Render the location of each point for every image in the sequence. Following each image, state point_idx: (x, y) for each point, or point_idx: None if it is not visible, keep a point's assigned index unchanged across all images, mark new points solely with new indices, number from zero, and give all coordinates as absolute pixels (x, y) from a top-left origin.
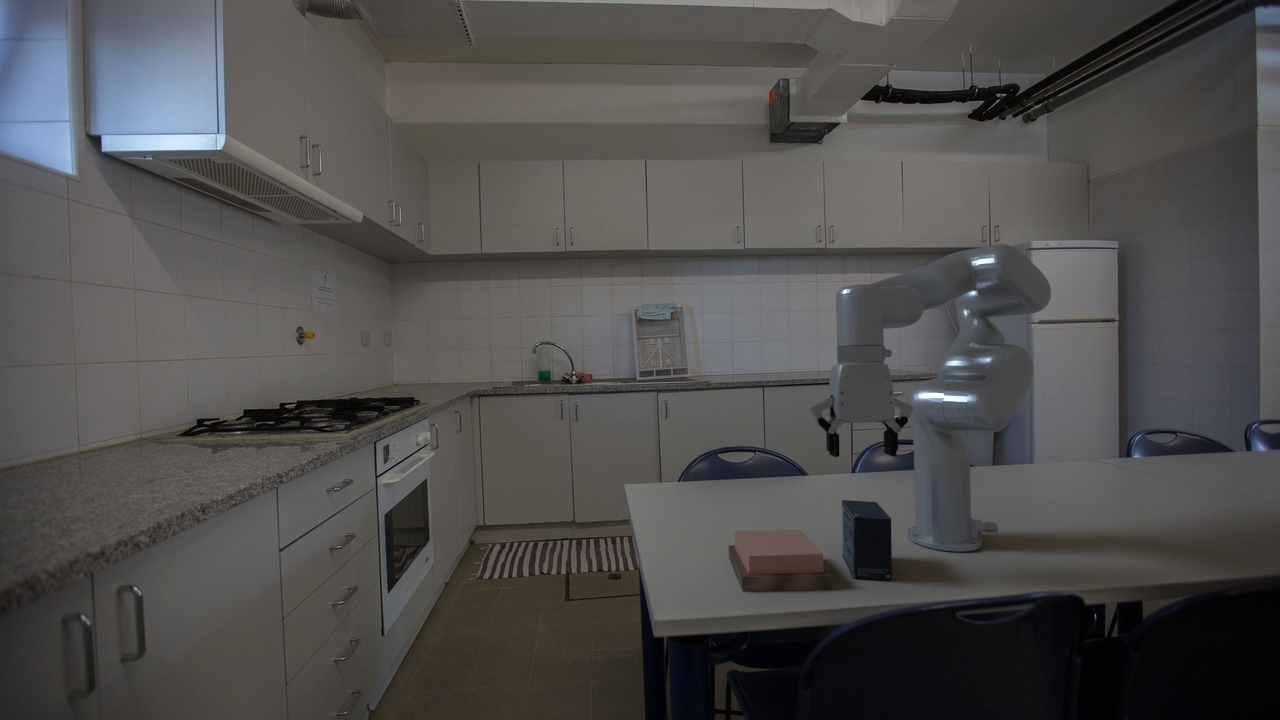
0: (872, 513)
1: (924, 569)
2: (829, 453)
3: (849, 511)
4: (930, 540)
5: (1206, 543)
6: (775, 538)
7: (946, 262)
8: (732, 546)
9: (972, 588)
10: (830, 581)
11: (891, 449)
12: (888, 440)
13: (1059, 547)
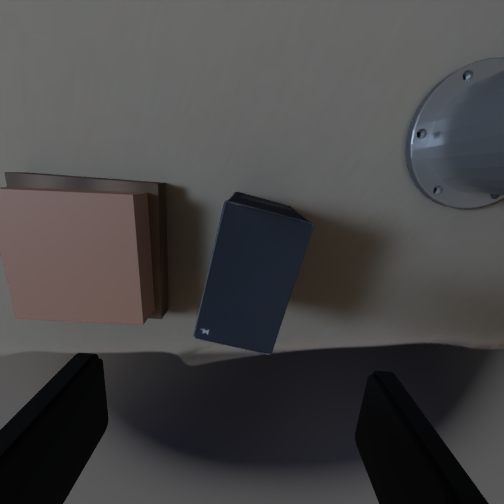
0: (245, 326)
1: (337, 263)
2: (80, 355)
3: (201, 302)
4: (429, 168)
5: None
6: (71, 243)
7: None
8: (12, 178)
9: (356, 327)
10: (164, 314)
11: (367, 465)
12: (395, 493)
13: None
